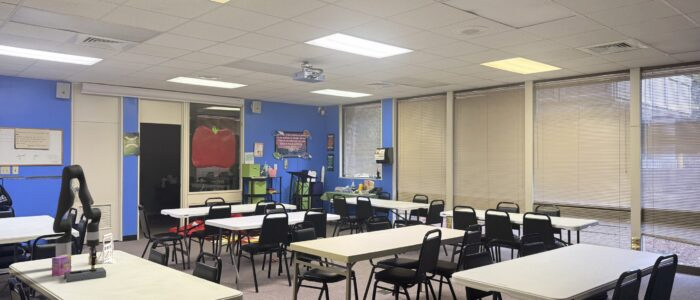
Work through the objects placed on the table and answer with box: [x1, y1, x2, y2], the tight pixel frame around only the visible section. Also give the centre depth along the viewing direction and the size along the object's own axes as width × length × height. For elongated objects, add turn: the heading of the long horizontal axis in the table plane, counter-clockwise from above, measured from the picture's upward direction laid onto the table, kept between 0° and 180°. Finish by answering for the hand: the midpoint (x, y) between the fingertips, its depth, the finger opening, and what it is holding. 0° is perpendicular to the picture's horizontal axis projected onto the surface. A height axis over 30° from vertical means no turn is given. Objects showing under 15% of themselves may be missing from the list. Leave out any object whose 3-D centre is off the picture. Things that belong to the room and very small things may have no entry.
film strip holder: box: [96, 232, 123, 265], centre depth 355 cm, size 14×14×20 cm
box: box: [51, 254, 72, 277], centre depth 317 cm, size 10×6×12 cm, turn 168°
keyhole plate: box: [63, 267, 107, 283], centre depth 307 cm, size 22×12×4 cm, turn 126°
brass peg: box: [88, 255, 98, 269], centre depth 320 cm, size 5×5×10 cm
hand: (92, 264), depth 320 cm, fingers closed on brass peg, 4 cm apart
